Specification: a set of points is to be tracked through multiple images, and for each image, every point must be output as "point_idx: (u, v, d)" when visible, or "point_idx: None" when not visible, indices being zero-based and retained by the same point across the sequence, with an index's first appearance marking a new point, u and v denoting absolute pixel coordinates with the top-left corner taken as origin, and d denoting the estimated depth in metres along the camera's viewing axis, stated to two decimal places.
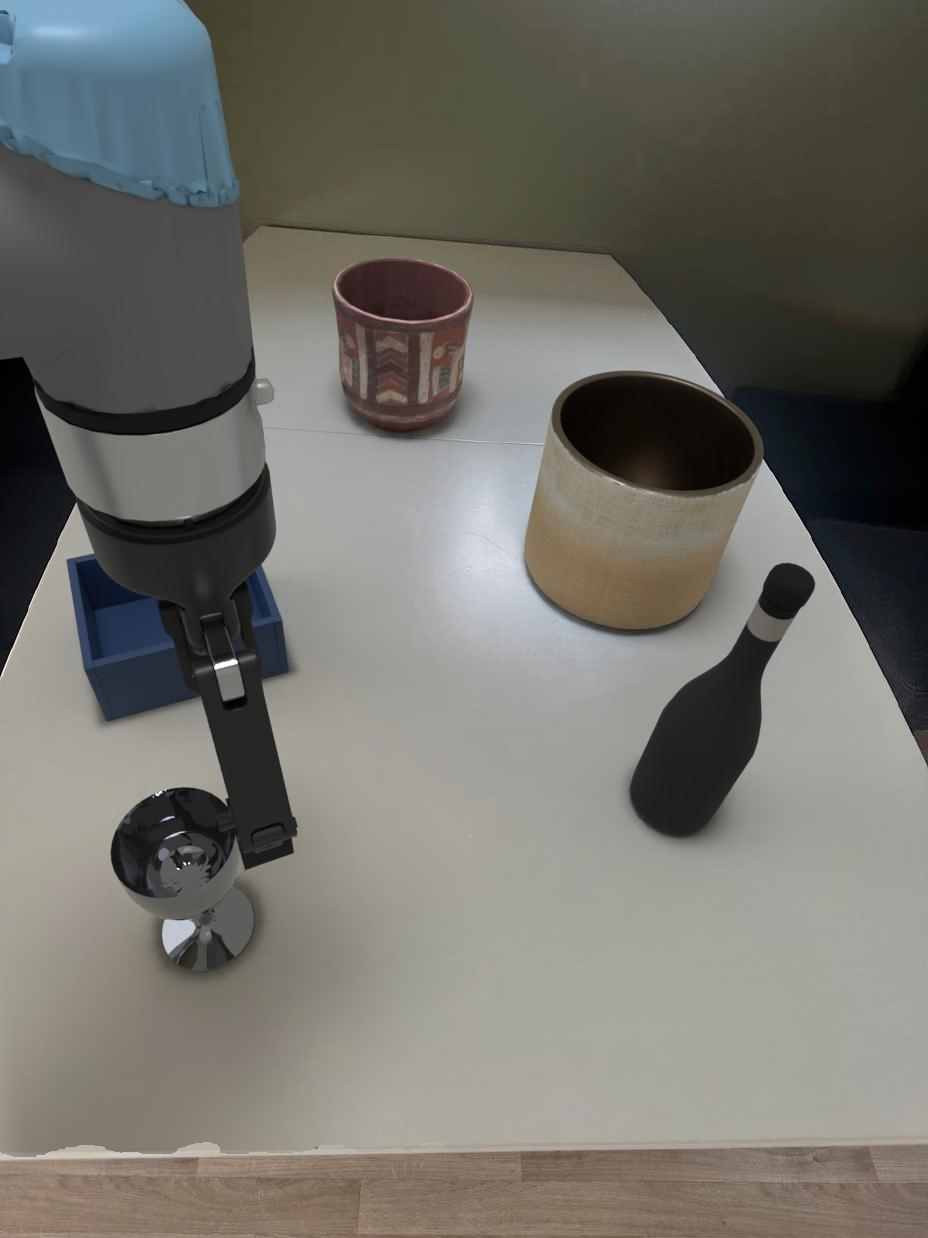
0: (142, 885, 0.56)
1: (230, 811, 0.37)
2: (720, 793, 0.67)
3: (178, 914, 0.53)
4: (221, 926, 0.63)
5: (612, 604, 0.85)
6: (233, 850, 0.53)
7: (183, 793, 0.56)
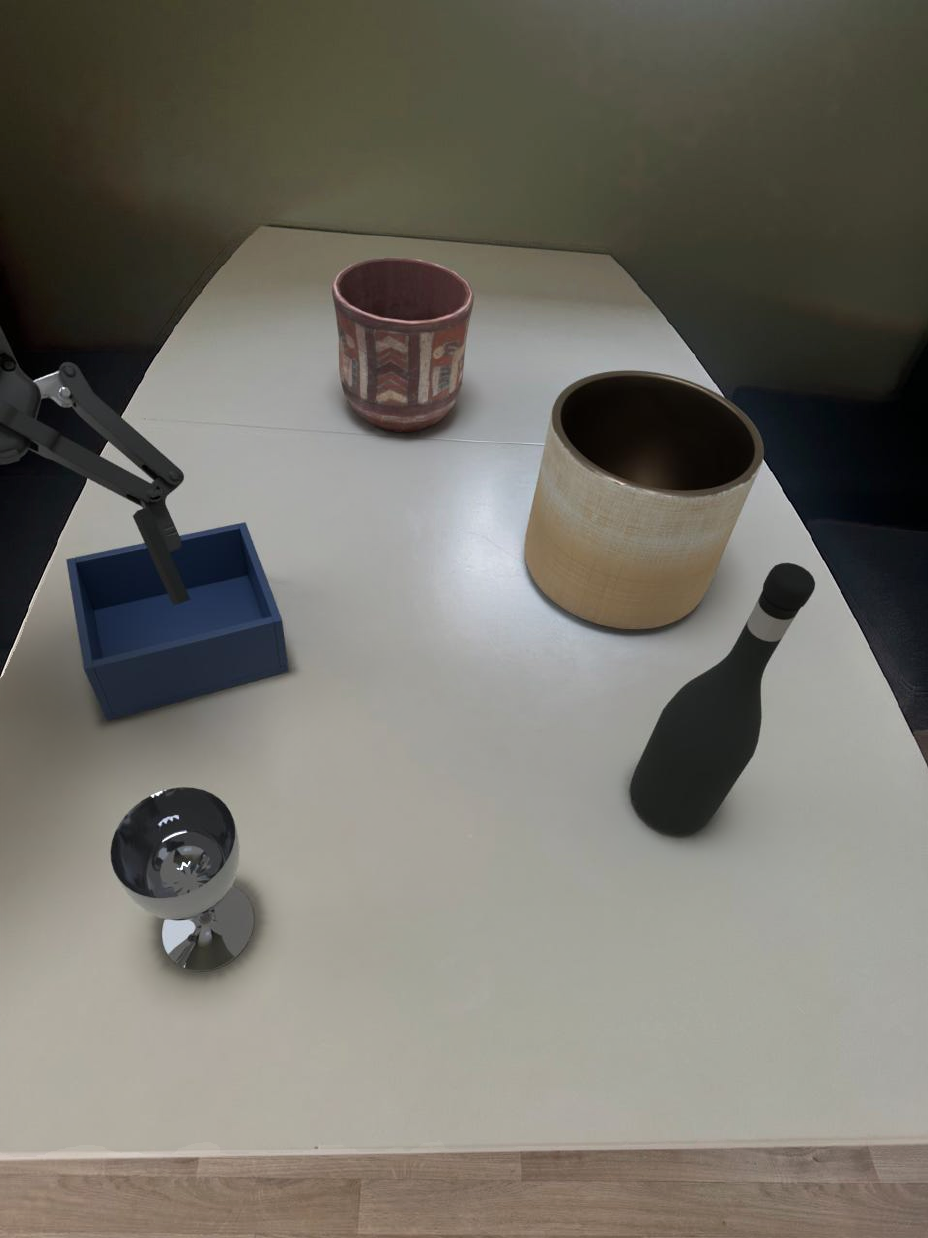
0: (142, 885, 0.56)
1: (150, 490, 0.52)
2: (720, 793, 0.67)
3: (178, 914, 0.53)
4: (221, 926, 0.63)
5: (612, 604, 0.85)
6: (233, 850, 0.53)
7: (183, 793, 0.56)
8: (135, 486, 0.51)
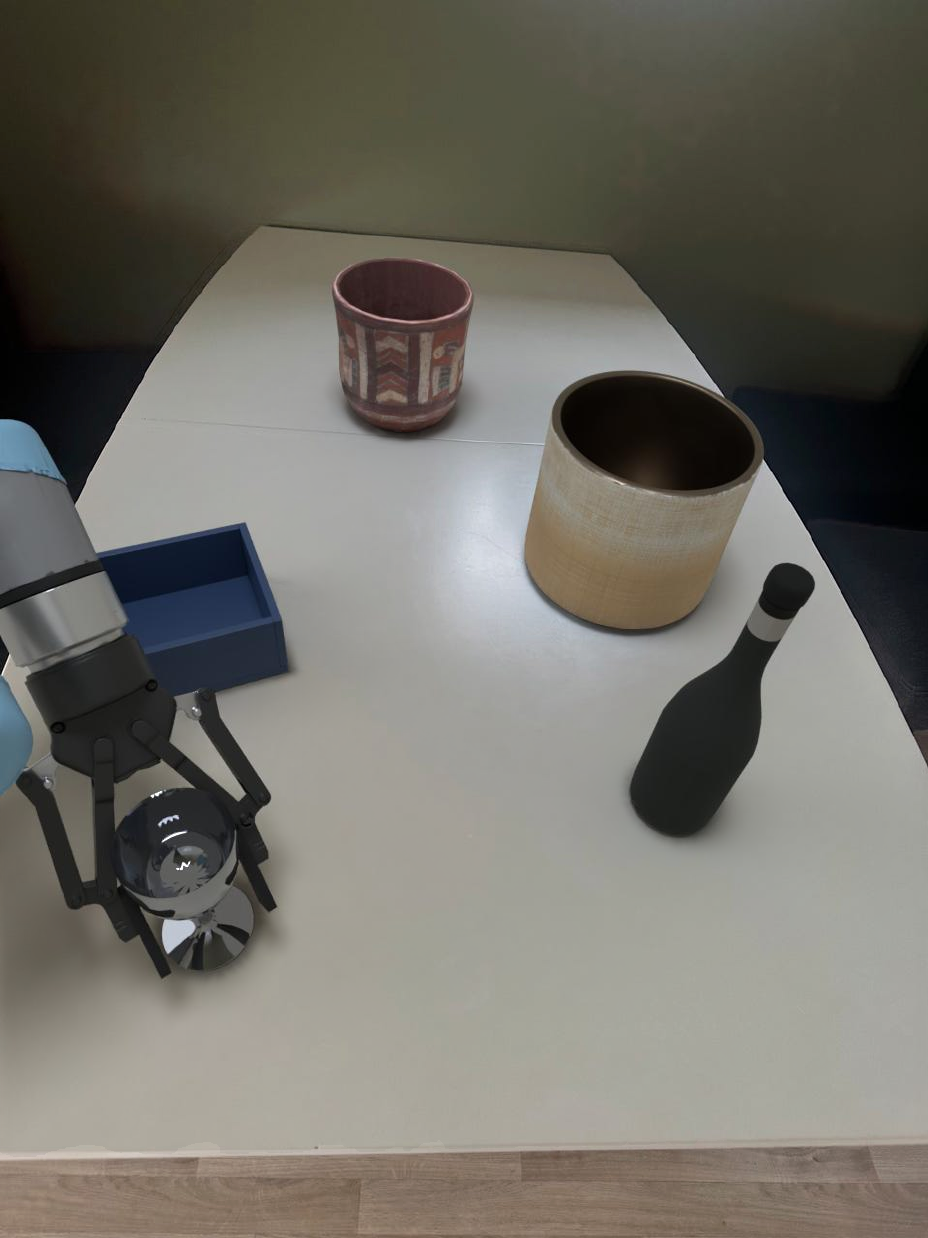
0: (142, 885, 0.56)
1: (244, 814, 0.58)
2: (720, 793, 0.67)
3: (178, 914, 0.53)
4: (221, 926, 0.63)
5: (612, 604, 0.85)
6: (233, 850, 0.53)
7: (183, 793, 0.56)
8: (232, 809, 0.58)
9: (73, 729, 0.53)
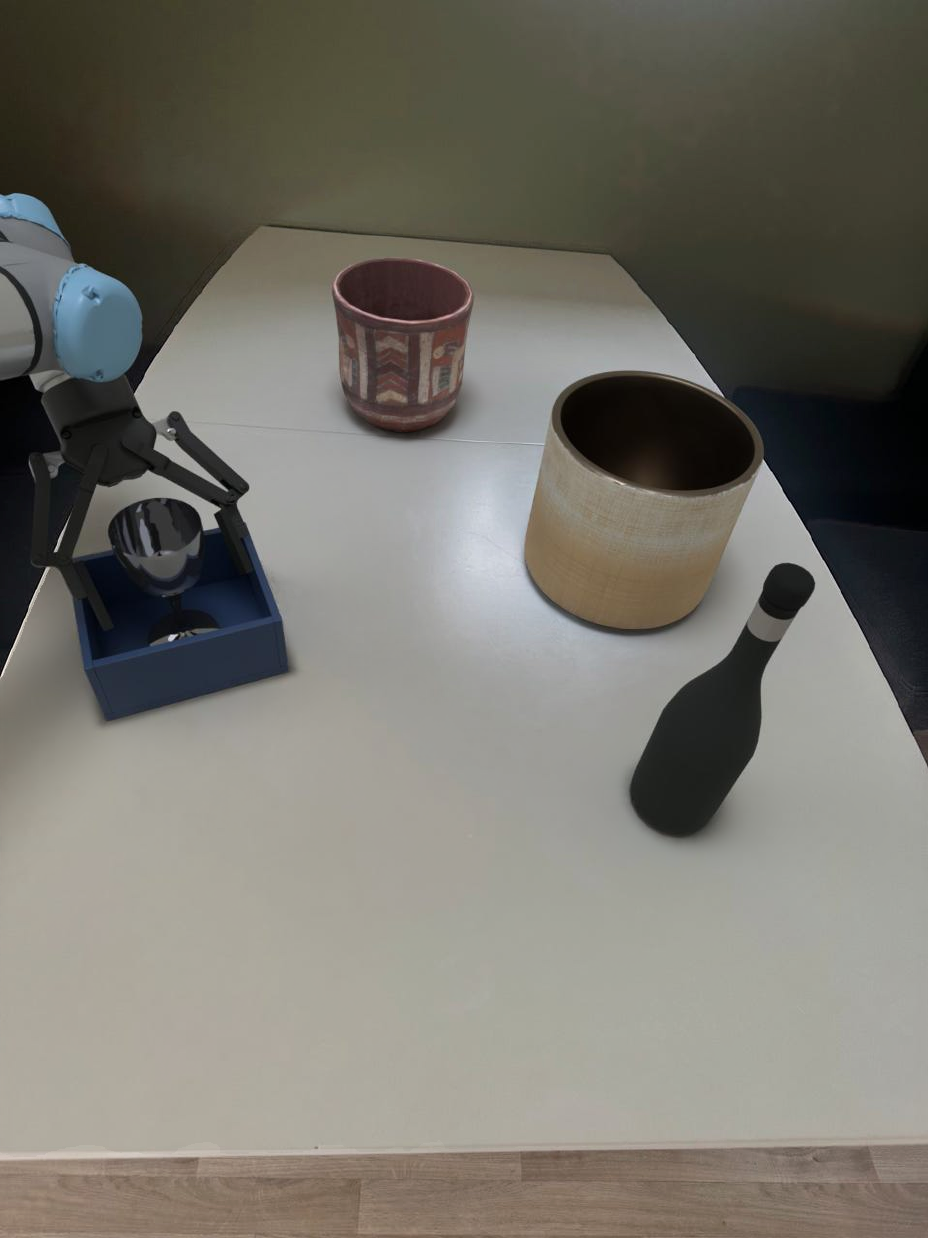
0: None
1: (227, 496, 0.76)
2: (720, 793, 0.67)
3: (158, 580, 0.71)
4: (194, 633, 0.81)
5: (612, 604, 0.85)
6: (199, 535, 0.71)
7: (163, 504, 0.74)
8: (217, 494, 0.76)
9: (77, 437, 0.70)
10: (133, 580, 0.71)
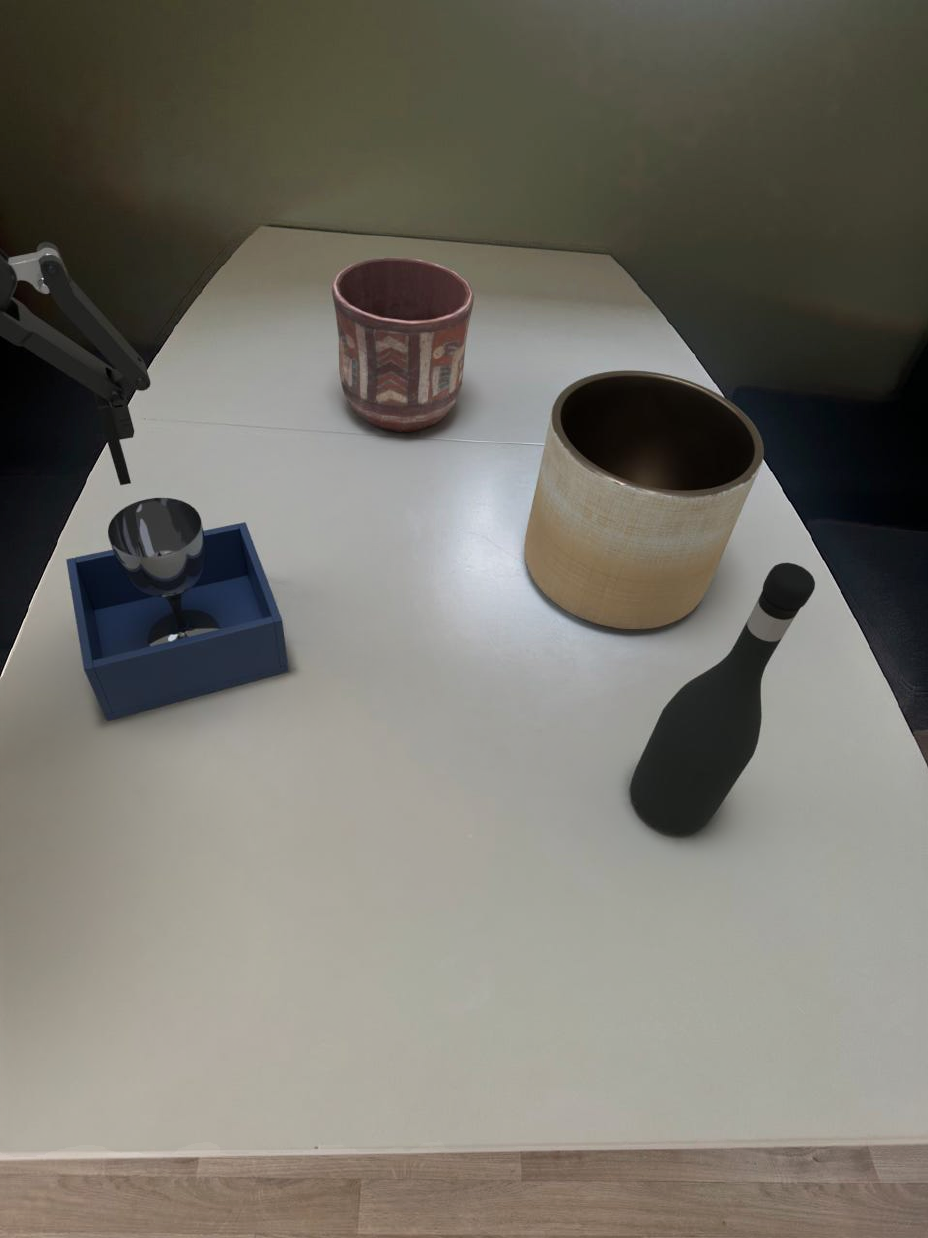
0: None
1: (114, 392, 0.53)
2: (720, 793, 0.67)
3: (158, 580, 0.71)
4: (194, 633, 0.81)
5: (612, 604, 0.85)
6: (199, 535, 0.71)
7: (163, 504, 0.74)
8: (100, 386, 0.52)
9: None
10: (133, 580, 0.71)
